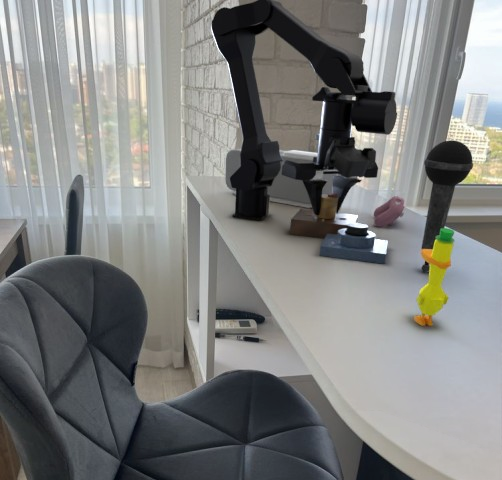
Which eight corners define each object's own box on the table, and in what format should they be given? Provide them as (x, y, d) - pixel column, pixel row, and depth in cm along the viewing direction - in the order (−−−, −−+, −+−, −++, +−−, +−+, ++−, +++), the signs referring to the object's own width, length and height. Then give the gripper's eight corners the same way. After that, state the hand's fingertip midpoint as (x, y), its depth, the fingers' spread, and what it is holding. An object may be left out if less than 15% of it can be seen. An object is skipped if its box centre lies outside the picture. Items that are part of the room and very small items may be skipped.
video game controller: (390, 235, 107) (410, 207, 104) (372, 224, 107) (392, 195, 104) (388, 224, 116) (407, 198, 113) (371, 214, 116) (390, 187, 113)
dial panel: (289, 234, 98) (291, 218, 97) (299, 222, 107) (300, 207, 106) (351, 241, 96) (353, 225, 94) (355, 229, 105) (358, 214, 103)
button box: (319, 255, 87) (321, 235, 85) (326, 242, 95) (328, 223, 93) (384, 263, 84) (388, 243, 83) (386, 249, 92) (389, 230, 91)
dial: (322, 219, 98) (325, 197, 96) (311, 214, 101) (314, 192, 99) (339, 218, 99) (342, 196, 97) (328, 213, 103) (331, 192, 101)
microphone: (424, 281, 78) (455, 143, 69) (394, 267, 83) (418, 137, 74) (456, 276, 81) (489, 143, 72) (425, 263, 86) (452, 137, 77)
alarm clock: (335, 204, 126) (341, 154, 121) (318, 210, 119) (324, 157, 114) (243, 188, 139) (245, 143, 134) (224, 193, 132) (225, 145, 127)
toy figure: (398, 311, 66) (416, 220, 61) (424, 310, 67) (444, 220, 62) (421, 333, 60) (443, 235, 55) (449, 333, 61) (474, 235, 56)
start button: (344, 236, 87) (346, 226, 86) (346, 231, 90) (348, 221, 89) (366, 239, 86) (367, 229, 85) (367, 234, 89) (368, 224, 89)
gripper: (317, 133, 83) (307, 227, 90) (404, 134, 91) (389, 221, 98) (283, 127, 92) (277, 213, 98) (365, 128, 99) (354, 208, 106)
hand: (325, 214), depth 100 cm, fingers closed on dial, 4 cm apart
